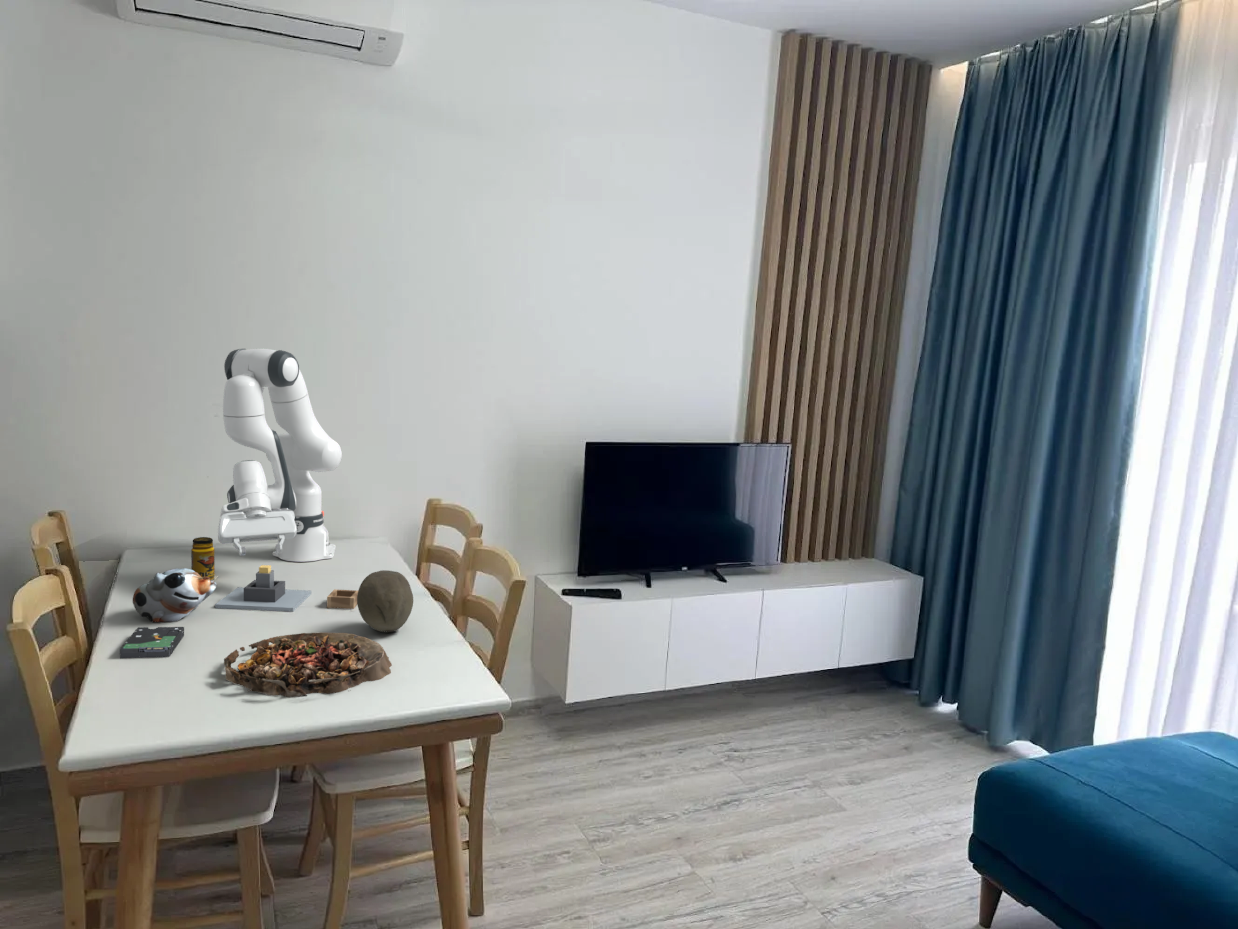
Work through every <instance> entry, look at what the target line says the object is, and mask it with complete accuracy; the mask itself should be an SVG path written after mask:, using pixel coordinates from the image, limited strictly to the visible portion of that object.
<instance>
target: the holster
mask: <svg viewBox="0 0 1238 929" xmlns="http://www.w3.org/2000/svg"><path fill="white" fill-rule="evenodd" d="M358 590H359V589H358ZM358 590H357V589H356V590H353V589H336V588H334V589H333V590H332V591H331V592H330V593H329V594H328V596H326V608H327V609H346V610H354V609H355V608H356V607H358V605H357V594H358Z"/></svg>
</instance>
